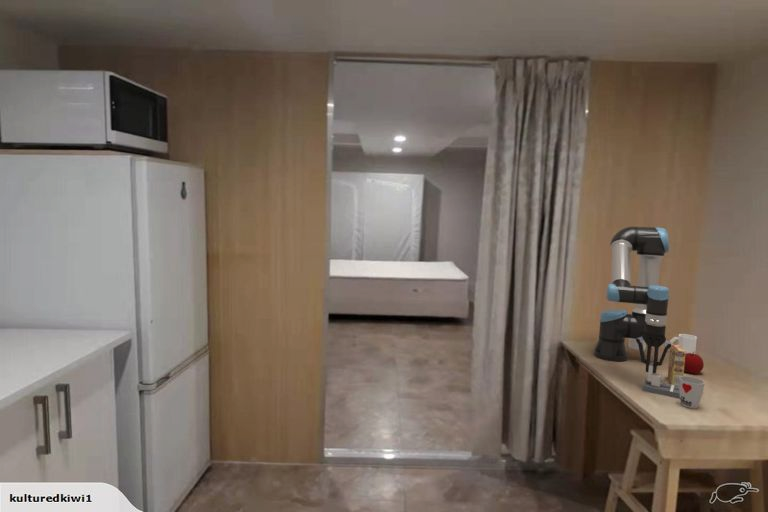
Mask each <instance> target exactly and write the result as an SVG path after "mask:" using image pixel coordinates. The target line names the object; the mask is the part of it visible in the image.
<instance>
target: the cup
mask: <svg viewBox="0 0 768 512" xmlns="http://www.w3.org/2000/svg"><path fill="white" fill-rule="evenodd" d="M705 382H706V381H704V380H703V379H700V378H698V377H694V376H689V375H687V376H686V375H684V376H681V377H679V395H680V399H679V400H680V403H681V405H682V406H683V407H686V408H688V407H689V409H697V408H698V406H699V405H700V403H701V400H702V396H703V393H704V389H705V388H704V387H705Z"/></svg>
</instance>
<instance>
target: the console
mask: <svg viewBox="0 0 768 512" xmlns="http://www.w3.org/2000/svg"><path fill="white" fill-rule="evenodd" d="M641 390H642V391H644V392H648V393H652V394H656V395H657V394H658V395H661V396H667V397H671V398H675V399H679V398H680V395H679V386H676V385H672V384H671V383H665V382H661V384H660V387H657V386H652V385H651V381H648V379H645V380H644V381H643V384H642V389H641Z"/></svg>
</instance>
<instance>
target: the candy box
mask: <svg viewBox="0 0 768 512" xmlns="http://www.w3.org/2000/svg"><path fill="white" fill-rule="evenodd" d="M685 353H686V351H685V350H684V349H683V348H682V347H681V346H679V345H678V344H673V345H671V347H670V348H669V356H668V364H667V365H668V366H667V380H668V381H669V382H670V383H669V384H670V385H675V386H679V377H681V376H685V373H684V372H685V371H684V364H685Z"/></svg>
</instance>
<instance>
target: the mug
mask: <svg viewBox="0 0 768 512" xmlns="http://www.w3.org/2000/svg"><path fill="white" fill-rule="evenodd" d="M697 338H698V336H696V335H693V334H688V333H679V334H678V336H674V337H672V338H671V339H670V340H669V343H671V344H672V345H674V342H675V341H676V340H677V345H679V346H681V347H682V348H683V349H684V350H685V351H686V353H692V354H696V350H697V349H696V348H697V340H698V339H697ZM693 352H694V353H693ZM686 353H685V354H686Z"/></svg>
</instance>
